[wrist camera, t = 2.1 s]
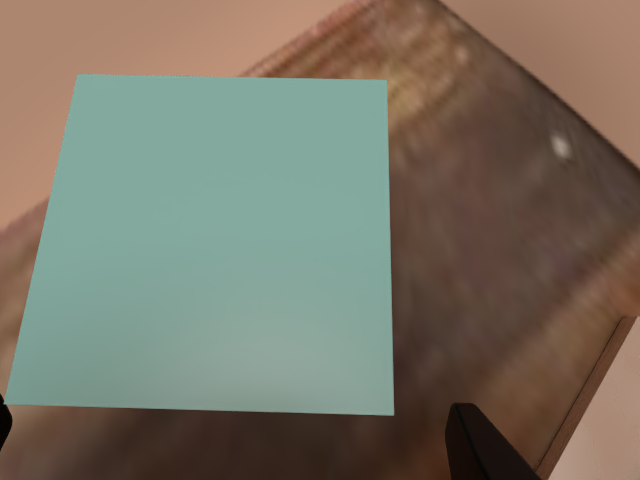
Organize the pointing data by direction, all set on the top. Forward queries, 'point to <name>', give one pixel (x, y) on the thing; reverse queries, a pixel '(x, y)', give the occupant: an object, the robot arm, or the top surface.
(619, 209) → the top surface
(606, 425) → the plate
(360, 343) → the tall mint green block
